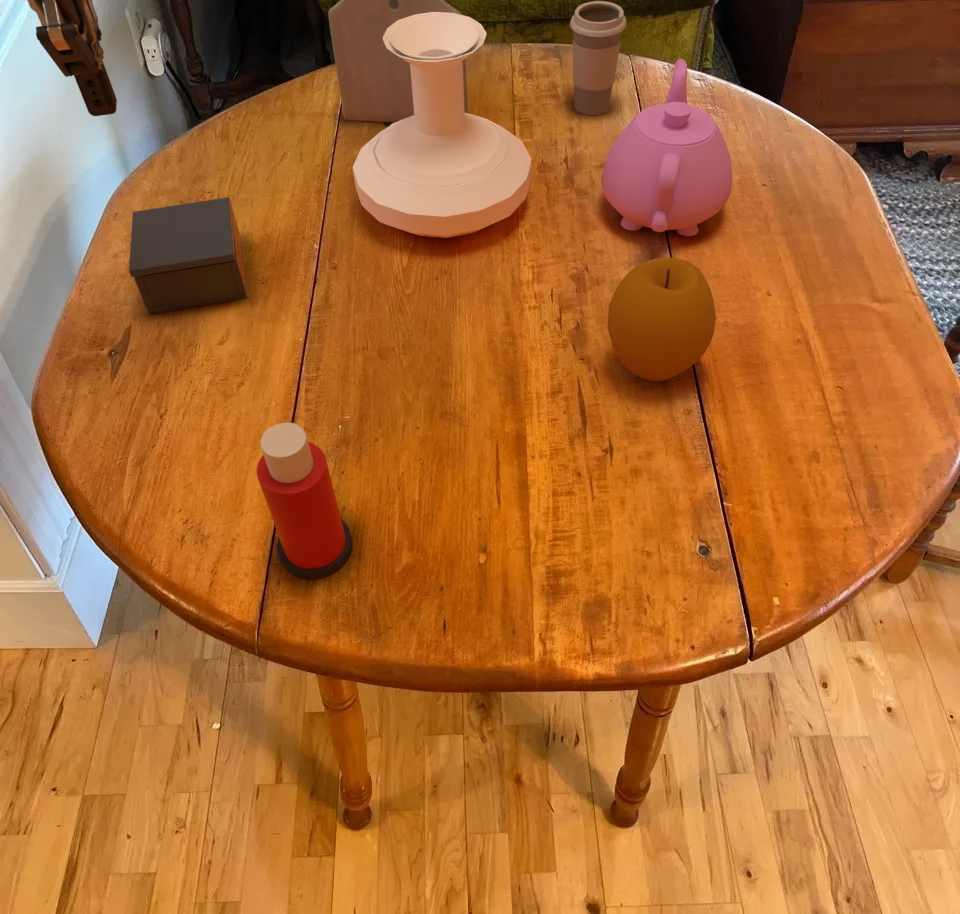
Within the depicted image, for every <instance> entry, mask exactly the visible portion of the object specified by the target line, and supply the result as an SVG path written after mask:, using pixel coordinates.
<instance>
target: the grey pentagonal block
mask: <svg viewBox="0 0 960 914" xmlns="http://www.w3.org/2000/svg"><path fill="white" fill-rule="evenodd" d="M429 12H445V13H455V14H459V15H463V14H462V13H461V12H460V11H458V10H457V9H456V8H455V7H453V6H451V5H450V4H449V3H448V2H447V1H445V0H339V1H338V2H336V3H335V4H334V5H333V6H331V8H330V9H328V13H327V15H328V22H329V23H328V24H329V31H330V36H331V38H330V39H331V43H332V49H333V57H334V63H335V70H336V75H337V76H336V77H337V82H338V89H339V96H340V101H341V109H342V114H343V115H342V116H343V119H344V120H345V121H350V122H351V121H355V122H372V123H373V122H376V123H377V122H378V123H392V124H393V123H396V122H398V121H400V120H403V119H406V118H408V117H411V116H413V115H414V106H413V94H412V82H411V70H410V63H409V62H407V61H405V60H404V59H402V58H400V57H399V56H397V55H396V54H394V53H393V52H391V51H390V50H389V49H387V48H386V45H385V43H384V41H383V36H384V34H385V32H386V30H387V28H388V27H390V26H391V25H392V24H394V23H395V22H396V21H398V20H400V19H403V18H406V17H409V16H412V15H416V14H423V13H429ZM462 62H463V89H464V113H468V112H469V111H468V85H467V84H468V83H467V57H466V58H465V59H464V60H463V61H462ZM468 114H469V113H468Z"/></svg>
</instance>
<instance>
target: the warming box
mask: <svg viewBox="0 0 960 914" xmlns="http://www.w3.org/2000/svg"><path fill="white" fill-rule="evenodd" d="M231 210H232V223H233V237H234V250H235V261H229V262H223V263H216V264H210V265H204V266H198V267H192V268H186V269H179V270H173V271H167V272H161V273H155V274H148V275H142V276H136V277H133V279H134V281H135V283H136V286H137V288H138V291H139V293H140V296H141V298H142V300H143V303H144V306H145V308H146V310H147V312H148V315H152V314H159V313H165V312H171V311H176V310H183V309H188V308H194V307H200V306H207V305H212V304H219V303H224V302H225V303H226V302H230V301H237V300H242V299H248V290H247V282H246V270H245V261H244V251H243V250H244V249H243V242H242V241H243V240H242V237H241V233H240V230H239V226H238V222H237V219H236V216H235V213H234V212H235V211H234V209H233V205H232V204H231Z"/></svg>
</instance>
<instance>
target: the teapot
mask: <svg viewBox="0 0 960 914" xmlns="http://www.w3.org/2000/svg"><path fill="white" fill-rule="evenodd" d="M687 77H688V65H687V62H686V60H684V59H683V58H679V59H677V60H676V62H675V64H674V67H673V73H672V79H671V83H670V87H669V90H668V93H667V95H666V99H665V100H664V103H660V104H654V105H651V106H649V107H647V108H644V109H643V110H642V111H640V112H639V113H638V114H636V116H635V117H633V119H632V120H631V121H630V122H629V123H628V124H627V125H626V127H625V128H624V129H623V130H622V131H621V132H620V133H619V135H618V136H617V138H616V139H615V141H614V142H613V144H612V146H611V147H610V150H609V151H608V154H607V157H606V158H605V162H604V165H603V168H602V174H601V181H600V182H601V188H602V191H603V194H604V197H605V198H606V200H607V201H608V203H609V204H611V206H612V207H613V208H614V209H615V210H616V211H617V212H618V214H620V215H621V216H622V217H623V218H622V219H621V220H620V226H621V227H622V228H623V229H625V230H627V231H638V230H640V229H642V228H643V227H644V228H649V229H651V230H652V231H654V232H657V233H663V232H665V231H675V232H676V233H678V235H681V236H684V237H693V236H695V235H697V234H698V233H699V226H698V225H699V224H701V223H703V222H704V221H707V220H709V219H710V218H712V217H713V216H714V215H716V214H717V213H718V212H720V211H721V210H722V208H724V206H725V205H726V204H727V202H728V200H729V199H730V195H731V191H732V186H733V167H732V165H733V164H732V160H731V159H732V158H731V154H730V151H729V148H728V145H727V142H726V140H725V138H724V136H723V133H722V131H721V130H720V127H719V126H718V124H717V123H716V122H717V121H715V119H714V118H713V117H712V116H711V115H710V114H709V113H708V112H706V111H705V110H703V109H702V108H699V107H696V106H694V105H690V104H688V96H687V95H688V94H687V93H688V92H687V79H688V78H687Z"/></svg>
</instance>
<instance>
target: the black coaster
mask: <svg viewBox="0 0 960 914" xmlns="http://www.w3.org/2000/svg"><path fill="white" fill-rule="evenodd" d="M341 521H342V525H343V529H344V533H345V538H346V541H345V547H344V549H343V551H342V553H341V554H340V556H339V557H338V558H337V559H336V560H335V561H333V562H332V563H330V564H329V565H327V566H324V567H321V568H317V569H305V568H301V567H298V566H296V565H294V564H293V563H291V562H290V561H289V560H288V558H287V557H286V555H285V552H284V550H283V547H282V544H281V541H280V538H279V537H277V541H276V553H277V555H278V558H279V560H280V563H281V565H282V566H283V568H284V569H285V570H286V572H288V573H289V574H291V575H293V576H295V577H296V578H301V579H304V580H318V579H322V578H326V577H328V576H331V575H332V574H335V573H336V572H338V571H339V570H340V569H341V568H342V567H343V566H344V565H345V564H346V563H347V561H348V560H349V558H350V556H351V554H352V550H353V539H352V534H351V530H350V528H349V526H348V525H347V523H346V522H345V521H344V520H343V519H342V518H341Z"/></svg>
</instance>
